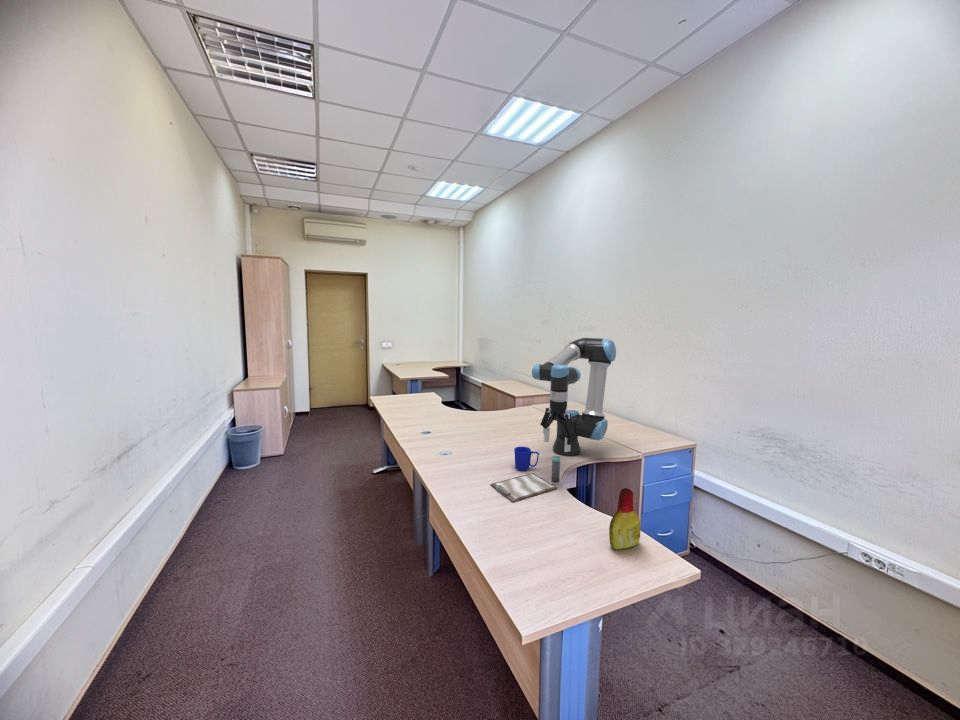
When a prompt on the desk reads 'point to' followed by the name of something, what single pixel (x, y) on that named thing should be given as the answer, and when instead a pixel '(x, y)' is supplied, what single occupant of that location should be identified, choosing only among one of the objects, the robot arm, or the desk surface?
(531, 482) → the clipboard
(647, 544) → the desk surface
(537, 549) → the desk surface
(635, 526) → the bottle
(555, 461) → the marker
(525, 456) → the mug
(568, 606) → the desk surface
